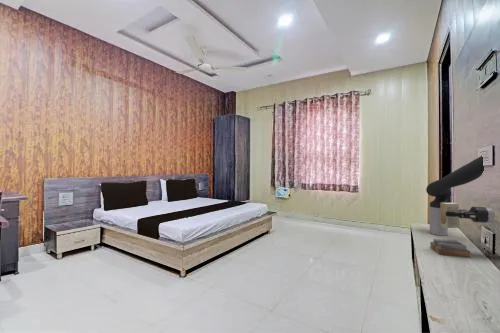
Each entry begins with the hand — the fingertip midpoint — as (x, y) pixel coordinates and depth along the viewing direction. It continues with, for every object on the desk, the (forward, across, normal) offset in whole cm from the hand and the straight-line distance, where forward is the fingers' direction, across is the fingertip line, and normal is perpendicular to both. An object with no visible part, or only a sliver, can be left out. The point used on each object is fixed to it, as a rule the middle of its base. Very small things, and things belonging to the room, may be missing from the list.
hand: (443, 212), depth 125 cm
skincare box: (-3, 0, +7) cm, 8 cm away
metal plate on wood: (-2, 0, +20) cm, 20 cm away
